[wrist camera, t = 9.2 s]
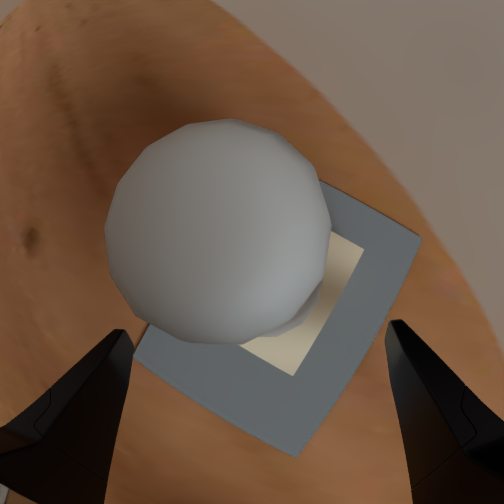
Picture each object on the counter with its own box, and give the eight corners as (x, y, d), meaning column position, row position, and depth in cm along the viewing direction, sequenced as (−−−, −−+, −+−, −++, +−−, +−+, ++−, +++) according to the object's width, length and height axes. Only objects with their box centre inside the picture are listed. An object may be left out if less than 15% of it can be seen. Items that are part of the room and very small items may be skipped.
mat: (296, 456, 19) (296, 457, 19) (134, 356, 22) (132, 357, 22) (421, 239, 21) (422, 238, 21) (255, 150, 24) (254, 149, 23)
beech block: (292, 364, 20) (292, 376, 17) (192, 303, 22) (171, 302, 18) (351, 260, 21) (364, 249, 17) (250, 205, 23) (241, 184, 19)
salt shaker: (204, 243, 18) (55, 128, 6) (302, 217, 18) (314, 40, 5) (228, 344, 17) (85, 414, 5) (330, 319, 17) (428, 345, 4)
